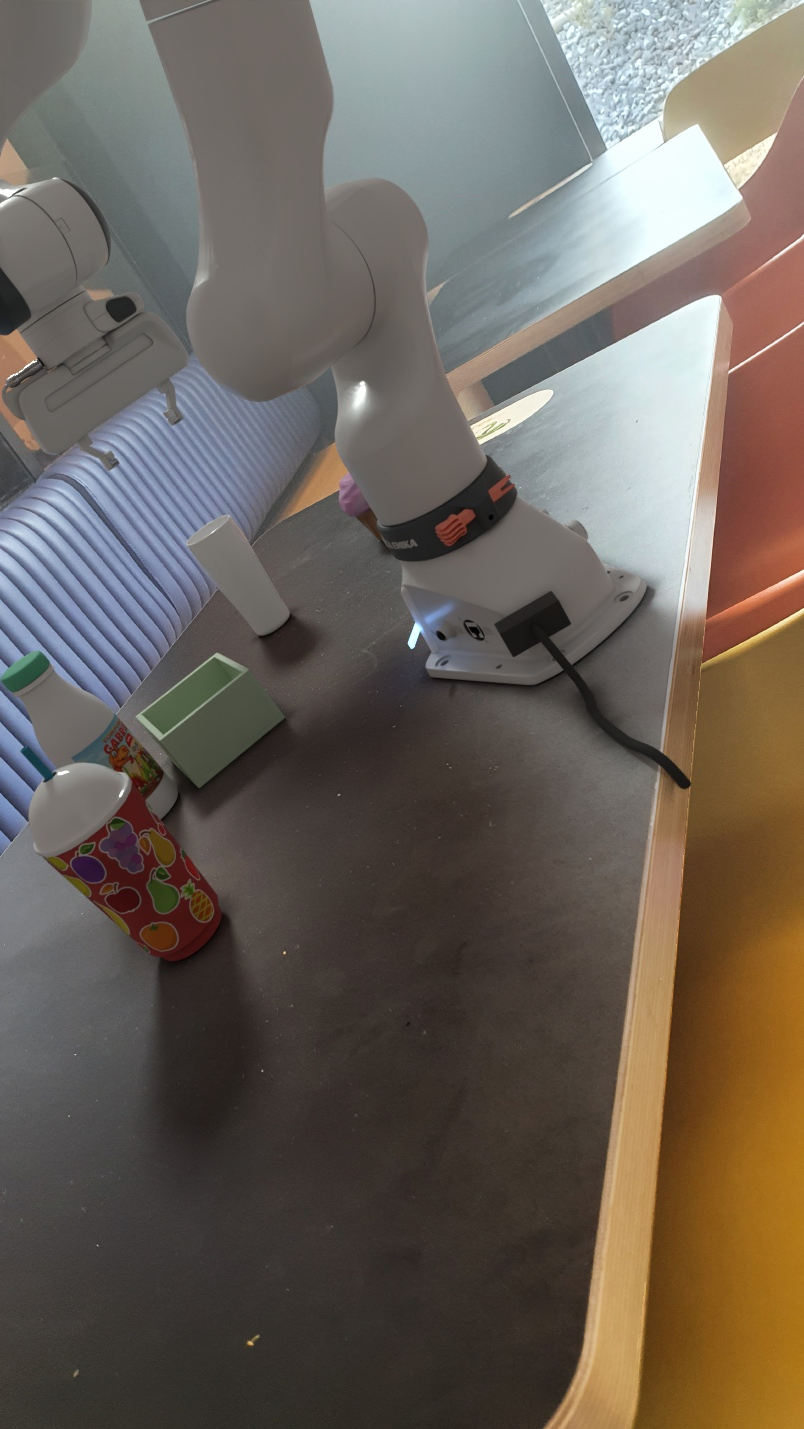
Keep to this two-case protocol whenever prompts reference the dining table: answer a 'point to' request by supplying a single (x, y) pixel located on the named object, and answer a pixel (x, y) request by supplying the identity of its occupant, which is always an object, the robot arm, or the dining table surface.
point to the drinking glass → (238, 574)
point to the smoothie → (121, 857)
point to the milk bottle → (84, 729)
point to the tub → (210, 718)
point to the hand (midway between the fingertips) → (146, 444)
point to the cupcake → (357, 505)
